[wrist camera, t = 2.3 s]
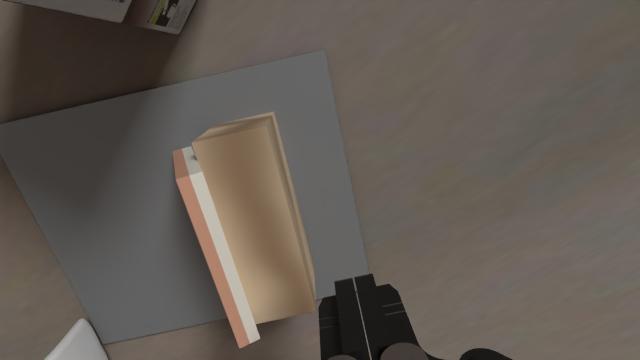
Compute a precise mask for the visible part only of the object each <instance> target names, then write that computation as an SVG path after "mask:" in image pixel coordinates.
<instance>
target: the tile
mask: <svg viewBox="0 0 640 360" xmlns="http://www.w3.org/2000/svg"><path fill="white" fill-rule="evenodd" d="M172 152H173V160H174V169H175V177H176V182H177V184H178V187H179V189H180V192H181V195H182V197H183V200H184V203H185V205H186V208H187V211H188V213H189V216H190V219H191V221H192V224H193V227H194V229H195V232H196V235H197V237H198V240H199V242H200V245H201V248H202V250H203V253H204V256H205V258H206V261H207V264H208V266H209V269H210V272H211V274H212V277H213V280H214V282H215V285H216V288H217V290H218V293H219V295H220V298H221V301H222V303H223V306H224V309H225V311H226V314H227V317H228V319H229V322H230V325H231V327H232V330H233V333H234V335H235V338H236V341H237V343H238V346H239V348H242V347H244V346H246V345H248V344H251V343H253V342H255V341H257V340H259V339H260V336H259V333H258V330H257V327H256V325H255V322H254V319H253V316H252V313H251V310H250V307H249V304H248V301H247V299H246V296H245V293H244V290H243V287H242V284H241V281H240V278H239V276H238V273H237V270H236V267H235V264H234V261H233V258H232V255H231V253H230V250H229V247H228V244H227V241H226V238H225V235H224V232H223V229H222V227H221V224H220V221H219V218H218V215H217V212H216V209H215V206H214V204H213V201H212V198H211V195H210V192H209V189H208V186H207V183H206V181H205V178H204V175H203V172H202V170H201V167H200V165H199V163H198V161H197V158H196V156H195V154H194V152H193V149H192V147H191V146H189V147H186V148H182V149H179V150H175V151H172Z"/></svg>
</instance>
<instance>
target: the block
mask: <svg viewBox="0 0 640 360" xmlns="http://www.w3.org/2000/svg"><path fill="white" fill-rule="evenodd" d="M192 146H193V149H194V152H195V155H196V158H197V161H198V163H199V165H200V167H201V170H202V172H203V175H204V178H205V181H206V183H207V186H208V189H209V192H210V195H211V198H212V201H213V204H214V206H215V209H216V212H217V215H218V218H219V221H220V224H221V227H222V229H223V232H224V235H225V238H226V241H227V244H228V247H229V250H230V253H231V255H232V258H233V261H234V264H235V267H236V270H237V273H238V276H239V278H240V281H241V284H242V287H243V290H244V293H245V296H246V299H247V301H248V304H249V307H250V310H251V313H252V316H253V319H254V322H255V324H259V323H264V322H268V321H273V320H278V319H283V318H287V317H292V316H297V315H302V314H307V313H311V312H316V293H315V274H314V264H313V261H312V257H311V253H310V249H309V245H308V241H307V237H306V234H305V230H304V226H303V222H302V218H301V214H300V210H299V206H298V203H297V199H296V195H295V191H294V187H293V183H292V179H291V176H290V172H289V168H288V164H287V160H286V156H285V152H284V149H283V145H282V141H281V137H280V133H279V129H278V125H277V122H276V118H275V114H274V112H270V113H265V114H261V115H256V116H252V117H247V118H243V119H239V120H234V121H230V122H225V123H221V124H217V125H214V126H212V127H211V128H210V129H208V130H207V131H206V132H205V133H203V134H202V135H201V136H199V137H198V138H197V139H196V140H194V141H193V142H192Z"/></svg>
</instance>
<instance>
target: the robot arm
mask: <svg viewBox="0 0 640 360" xmlns="http://www.w3.org/2000/svg"><path fill="white" fill-rule="evenodd" d="M354 279H355V284H356V289H357V293H358V298H359V302H360V307H361V311H362V316H363V321H364V325H365V330H366V334H367V339H368V343H369V348H370V353H371V357H372V360H443V359H438V358H435V357H433V356H431V355H429V354H427V353H426V352H425V351H424V350H423V349H422V348H421V347H420V346H419V344H418V341H417V339H416V336H415V334H414V331H413V329H412V326H411V324H410V321H409V319H408V316H407V313H406V312H405V308H404V306H403V303H402V301H401V298H400V296H399V293H398V291H397V290H396V289H394V288H393V287H392V286H391V285H390V284H386V285H381V286H376V284H375V281H374V277H373V274H367V275H362V276H357V277H354ZM334 284H335V292H336V295H333V296H328V297H324V298H323V299H322V301H321V304H320V306H319V308H318V309H319V327H320V348H321V360H370V357H369V352H368V347H367V342H366V338H365V333H364V328H363V324H362V319H361V314H360V310H359V305H358V301H357V296H356V292H355V287H354V283H353V278H348V279H343V280H338V281H334ZM460 360H512V359H510V358H508V357H506V356H504V355H502V354H500V353H498V352H496V351H493V350H490V349H484V348H477V349H472V350H469V351H467V352H465V353H464V354H463V355H462V356H461V358H460Z"/></svg>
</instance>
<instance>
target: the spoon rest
mask: <svg viewBox="0 0 640 360" xmlns="http://www.w3.org/2000/svg"><path fill="white" fill-rule="evenodd" d="M44 360H108V357H107V355H106V353H105V351H104V349H103V347H102V346H101V344H100V342H99V340H98V338H97V336H96V334H95V332H94V330H93V328H92V327H91V325H90V324H89V322H88V321H87V320H86V319H84V318H82V319H79V320H78V321H77V322H76V323H75V324H74V326H73V327H72V328H71V329H70V331H69V332H68V333H67V334H66V335H65V337H64V338H63V339H62V340H61V341H60V342H59V344H58V345H57V346H56V347H55V348H54V349H53V350H52V352H51V353H50V354H49V355H48V356H47V357H46V358H45V359H44Z"/></svg>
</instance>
